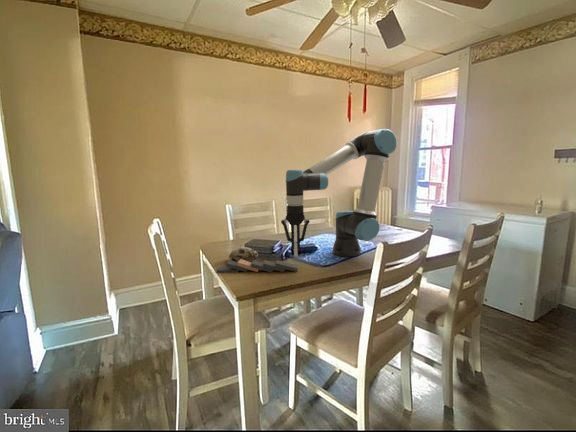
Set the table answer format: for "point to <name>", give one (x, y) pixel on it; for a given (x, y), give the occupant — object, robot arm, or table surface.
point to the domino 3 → (246, 265)
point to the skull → (243, 254)
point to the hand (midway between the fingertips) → (295, 255)
